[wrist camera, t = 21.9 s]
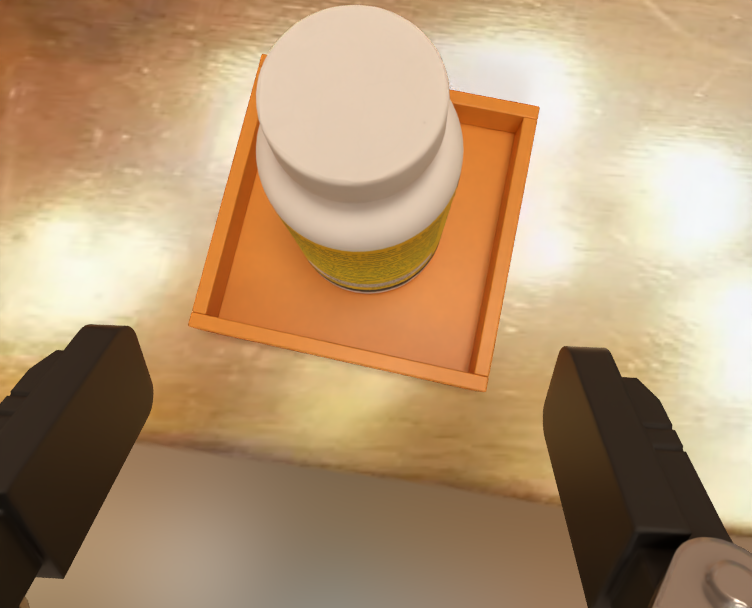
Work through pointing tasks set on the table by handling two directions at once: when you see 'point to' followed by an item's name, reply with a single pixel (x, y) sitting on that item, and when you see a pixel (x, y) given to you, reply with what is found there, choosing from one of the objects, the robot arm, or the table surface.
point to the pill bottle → (359, 144)
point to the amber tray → (386, 309)
